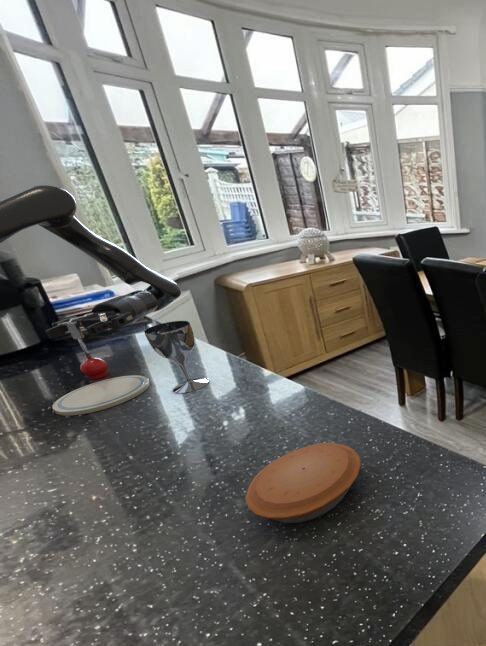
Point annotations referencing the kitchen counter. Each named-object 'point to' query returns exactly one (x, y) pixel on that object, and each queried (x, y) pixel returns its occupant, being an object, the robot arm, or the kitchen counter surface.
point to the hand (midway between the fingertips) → (69, 333)
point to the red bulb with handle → (88, 356)
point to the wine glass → (176, 349)
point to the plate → (101, 395)
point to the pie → (303, 483)
